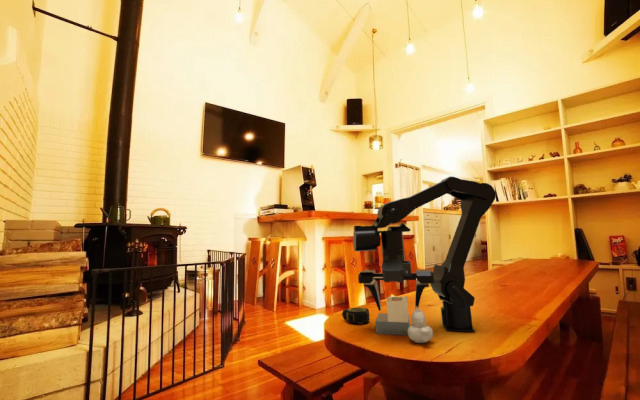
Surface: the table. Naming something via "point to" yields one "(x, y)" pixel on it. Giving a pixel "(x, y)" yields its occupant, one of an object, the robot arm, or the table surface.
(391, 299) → the cream box
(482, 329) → the table surface
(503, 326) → the table surface
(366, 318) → the tape measure
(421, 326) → the white rounded figure
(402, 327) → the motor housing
